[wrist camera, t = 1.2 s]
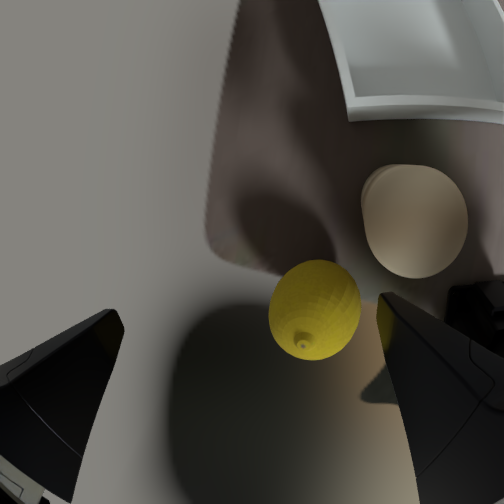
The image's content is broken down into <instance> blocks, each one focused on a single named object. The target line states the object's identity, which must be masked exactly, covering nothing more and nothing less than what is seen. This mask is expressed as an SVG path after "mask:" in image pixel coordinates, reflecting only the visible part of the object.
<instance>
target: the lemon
mask: <svg viewBox="0 0 504 504" xmlns="http://www.w3.org/2000/svg"><path fill="white" fill-rule="evenodd" d="M360 313H361V298H360V292H359V289H358V287H357V285H356V282H355V280H354V279H353V278H352V276H351V275H350V274H349V273H348V271H347V270H345V269H344V268H343V267H341V266H340V265H338V264H336V263H333V262H331V261H326V260H320V259H319V260H309V261H306V262H303V263H301V264H298V265H297V266H295V267H294V268H292V269H291V270H289V271H288V272H287V273H286V274H285V275H284V276H283V277H282V279H281V280H280V281H279V283H278V284H277V286H276V288H275V290H274V293H273V295H272V297H271V301H270V308H269V323H270V328H271V332H272V334H273V336H274V338H275V340H276V341H277V343H278V344H279V345H280V347H282V348H283V349H284V350H285V351H286V352H288V353H289V354H291V355H293V356H295V357H298V358H301V359H306V360H319V359H324V358H327V357H330V356H332V355H334V354H335V353H337V352H338V351H340V350H341V349H342V348H343V347H344V346H345V345H346V344H347V343H348V342H349V341H350V339H351V338H352V336H353V334H354V332H355V330H356V328H357V326H358V323H359V318H360Z"/></svg>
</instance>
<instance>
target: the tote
mask: <svg viewBox="0 0 504 504" xmlns="http://www.w3.org/2000/svg"><path fill="white" fill-rule="evenodd" d="M318 3H319V6H320V9H321V12H322V15H323V18H324V21H325V24H326V28H327V31H328V34H329V38H330V41H331V45H332V49H333V52H334V56H335V60H336V64H337V68H338V72H339V76H340V81H341V85H342V90H343V94H344V99H345V104H346V109H347V115H348V120H349V122H354V121H368V120H387V119H448V120H466V121H479V122H489V123H498V124H504V12H503V10H502V8H501V6H500V4H499V2H498V1H497V0H318Z"/></svg>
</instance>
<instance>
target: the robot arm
mask: <svg viewBox="0 0 504 504" xmlns="http://www.w3.org/2000/svg"><path fill="white" fill-rule="evenodd" d="M454 292H457V293H456V295H453V293H454ZM376 319H377V325H378V329H379V334H380V338H381V343H382V347H383V352H384V357H385V362H386V365H387V368H388V372H389V375H390V378H391V381H392V384H393V388H394V391H395V394H396V398H397V401H398V405H399V408H400V412H401V416H402V419H403V423H404V427H405V431H406V435H407V439H408V443H409V448H410V452H411V457H412V461H413V466H414V470H415V476H416V477H417V478H416V482H417V487H418V494H419V501H420V504H504V282H501V281H500V280H495V281H484V282H476V283H474V284H473V285H463V286H454V287H452V288H450V290H449V293H448V300H447V306H446V312H445V318H444V322H442V321H440V320H439V319H437V318H435V317H434V316H432V315H430V314H429V313H427V312H425V311H424V310H422V309H420V308H419V307H417V306H415V305H414V304H412V303H410V302H409V301H407V300H405V299H403V298H402V297H400V296H398V295H396V294H395V293H393V292H386V293H381V294H380V295H379V298H378V307H377V316H376ZM123 335H124V326H123V324H122V321H121V319H120V317H119V315H118V313H117V311H116V310H115V309H105V310H103V311H101V312H99V313H97V314H95V315H93V316H91V317H89V318H88V319H86V320H84V321H82V322H80V323H78V324H76V325H75V326H73V327H71V328H69V329H67V330H65V331H64V332H62V333H60V334H58V335H56V336H54V337H53V338H51V339H49V340H47V341H45V342H44V343H42V344H40V345H38V346H36V347H35V348H33V349H31V350H29V351H27V352H25V353H24V354H22V355H20V356H18V357H16V358H14V359H12V360H10V361H8V362H6V363H4V364H2V365H0V504H50V502H49V500H48V499H46V498H45V497H43V496H42V495H43V493H44V490H45V489H47V490H48V491H50V492H51V493H53V494H55V495H56V496H58V497H59V498H61V499H63V500H65V501H66V502H68V503H71V501H72V498H73V494H74V490H75V485H76V482H77V478H78V474H79V470H80V467H81V463H82V459H83V455H84V452H85V449H86V445H87V442H88V439H89V436H90V432H91V429H92V426H93V423H94V420H95V417H96V414H97V411H98V409H99V406H100V403H101V400H102V397H103V394H104V392H105V389H106V387H107V384H108V381H109V379H110V376H111V373H112V371H113V368H114V365H115V362H116V359H117V355H118V352H119V349H120V345H121V342H122V339H123Z"/></svg>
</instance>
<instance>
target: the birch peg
mask: <svg viewBox="0 0 504 504" xmlns="http://www.w3.org/2000/svg"><path fill="white" fill-rule="evenodd" d="M361 208H362V214H363V220H364V226H365V232H366V237H367V241H368V244H369V246H370V249H371V250H372V252H373V254H374V256H375V257H376V258H377V260H378V261H379V262H380V263H381V264H382V265H383V266H384V267H385V268H387V269H388V270H389V271H391V272H393V273H395V274H397V275H399V276H402V277H406V278H425V277H429V276H432V275H435V274H437V273H439V272H440V271H442V270H444V269H445V268H446V267H448V266H449V265H450V264H451V263H452V262H453V261H454V259H455V258H456V257H457V256H458V254H459V252H460V251H461V249H462V247H463V245H464V242H465V239H466V235H467V230H468V213H467V207H466V204H465V201H464V198H463V196H462V194H461V192H460V190H459V189H458V187H457V186H456V185H455V183H454V182H453V181H452V180H451V179H450V178H449V177H448V176H446V175H445V174H444V173H442V172H440V171H438V170H437V169H434V168H431V167H427V166H421V165H404V164H389V165H385V166H382V167H380V168H378V169H376V170H375V171H374V172H373V173H371V175H370V176H369V177H368V178H367V180H366V181H365V183H364V186H363V188H362V192H361Z"/></svg>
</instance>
